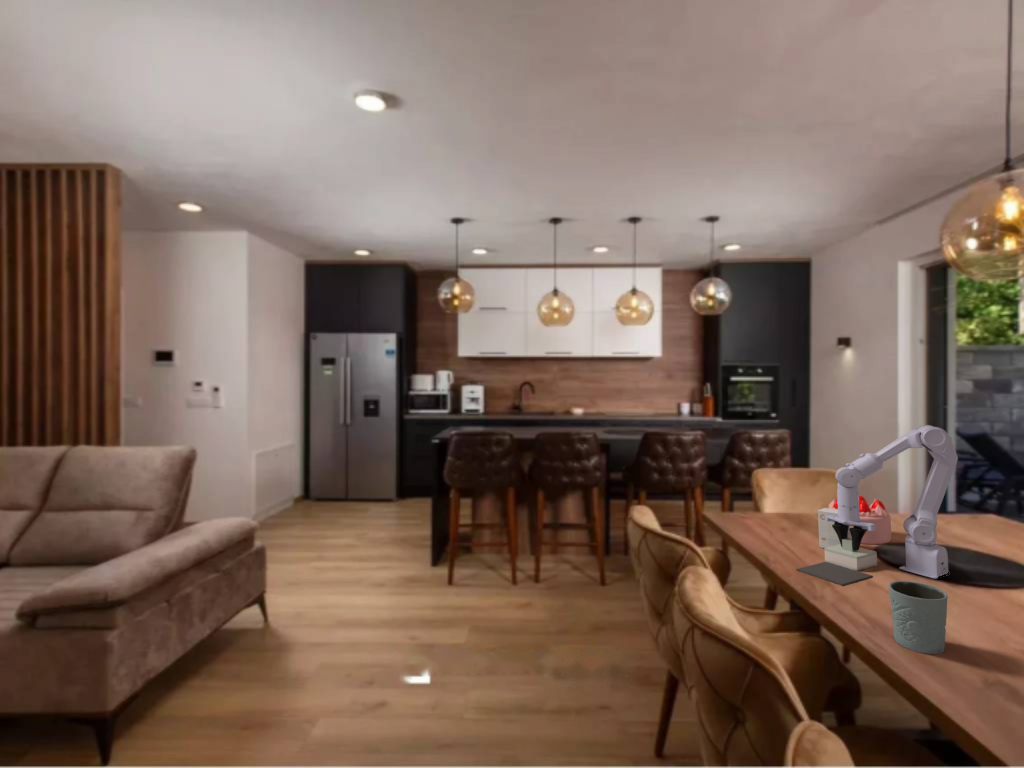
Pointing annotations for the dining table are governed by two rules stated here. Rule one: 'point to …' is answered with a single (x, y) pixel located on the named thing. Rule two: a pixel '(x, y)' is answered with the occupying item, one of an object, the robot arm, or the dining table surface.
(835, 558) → the shallow white tray
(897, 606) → the green embossed pot
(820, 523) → the small box
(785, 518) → the dining table surface
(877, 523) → the cake
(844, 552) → the lid
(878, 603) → the dining table surface
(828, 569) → the mat
